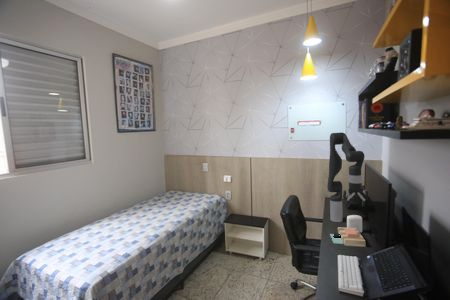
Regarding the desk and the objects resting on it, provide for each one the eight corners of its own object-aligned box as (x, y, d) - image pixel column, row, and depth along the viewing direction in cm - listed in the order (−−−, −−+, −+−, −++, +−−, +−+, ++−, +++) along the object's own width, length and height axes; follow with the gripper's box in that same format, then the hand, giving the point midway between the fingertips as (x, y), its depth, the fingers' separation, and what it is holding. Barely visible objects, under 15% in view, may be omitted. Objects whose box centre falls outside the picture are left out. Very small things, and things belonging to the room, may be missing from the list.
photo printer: (360, 230, 168) (360, 214, 168) (363, 232, 164) (363, 216, 163) (346, 230, 170) (345, 214, 169) (348, 232, 166) (347, 216, 165)
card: (344, 231, 160) (344, 228, 160) (353, 231, 158) (353, 228, 158) (347, 236, 151) (347, 233, 151) (357, 237, 150) (357, 234, 150)
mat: (329, 234, 165) (329, 233, 165) (338, 234, 163) (338, 234, 163) (333, 243, 152) (333, 243, 152) (343, 244, 150) (343, 243, 150)
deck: (337, 232, 167) (337, 227, 167) (355, 233, 164) (355, 227, 164) (344, 245, 148) (344, 239, 148) (365, 246, 145) (365, 240, 145)
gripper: (365, 180, 148) (365, 204, 149) (341, 180, 152) (342, 203, 153) (369, 183, 141) (369, 208, 142) (344, 182, 144) (344, 207, 146)
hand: (355, 205), depth 147 cm, fingers open, 8 cm apart
